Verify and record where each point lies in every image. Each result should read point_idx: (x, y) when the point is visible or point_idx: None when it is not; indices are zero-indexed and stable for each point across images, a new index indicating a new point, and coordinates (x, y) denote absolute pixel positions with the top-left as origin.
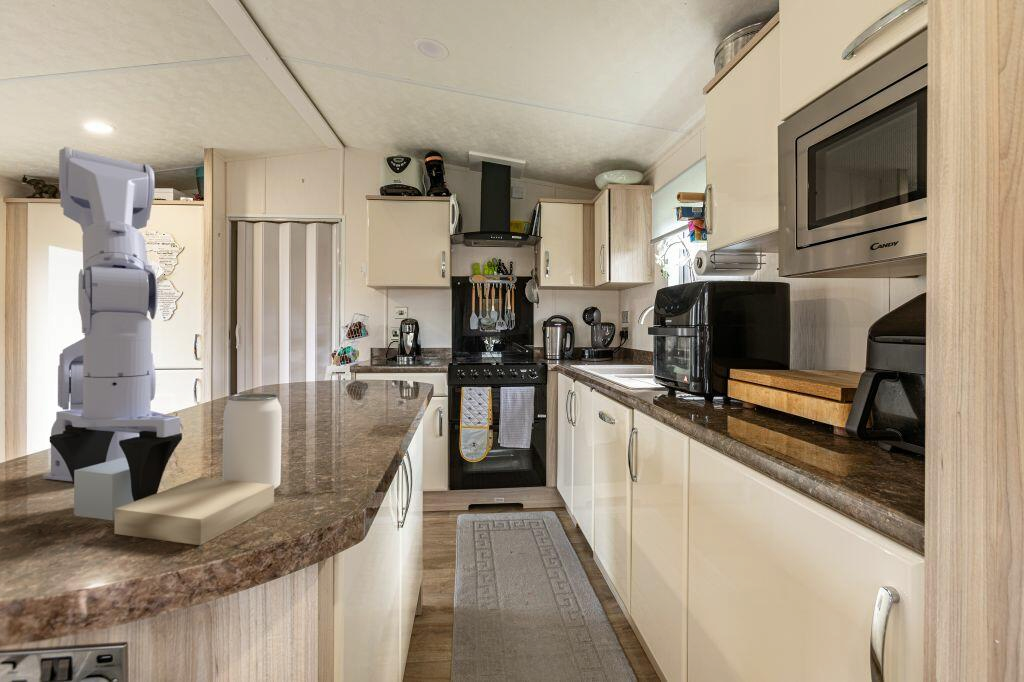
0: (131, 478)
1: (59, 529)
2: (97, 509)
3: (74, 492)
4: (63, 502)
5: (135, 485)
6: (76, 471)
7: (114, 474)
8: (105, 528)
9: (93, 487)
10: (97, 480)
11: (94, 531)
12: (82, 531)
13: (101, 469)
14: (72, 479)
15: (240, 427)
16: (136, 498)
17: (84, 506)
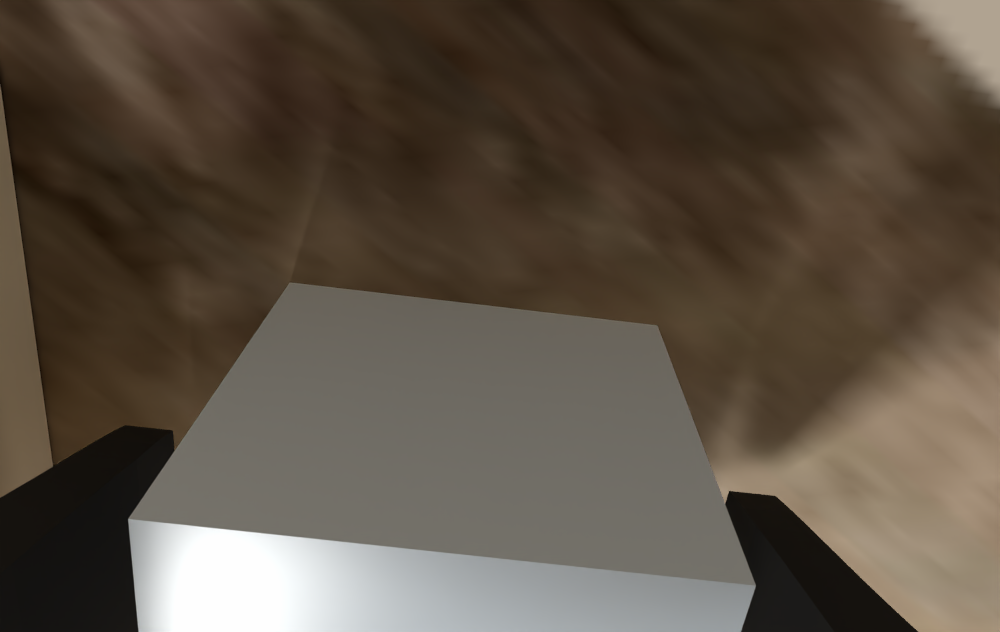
0: (21, 543)
1: (513, 79)
2: (420, 328)
3: (695, 426)
4: (951, 509)
5: (18, 493)
6: (722, 576)
7: (133, 534)
8: (180, 143)
9: (456, 439)
10: (393, 484)
11: (204, 82)
12: (295, 69)
13: None
14: (856, 577)
15: None
16: (117, 436)
17: (558, 348)
